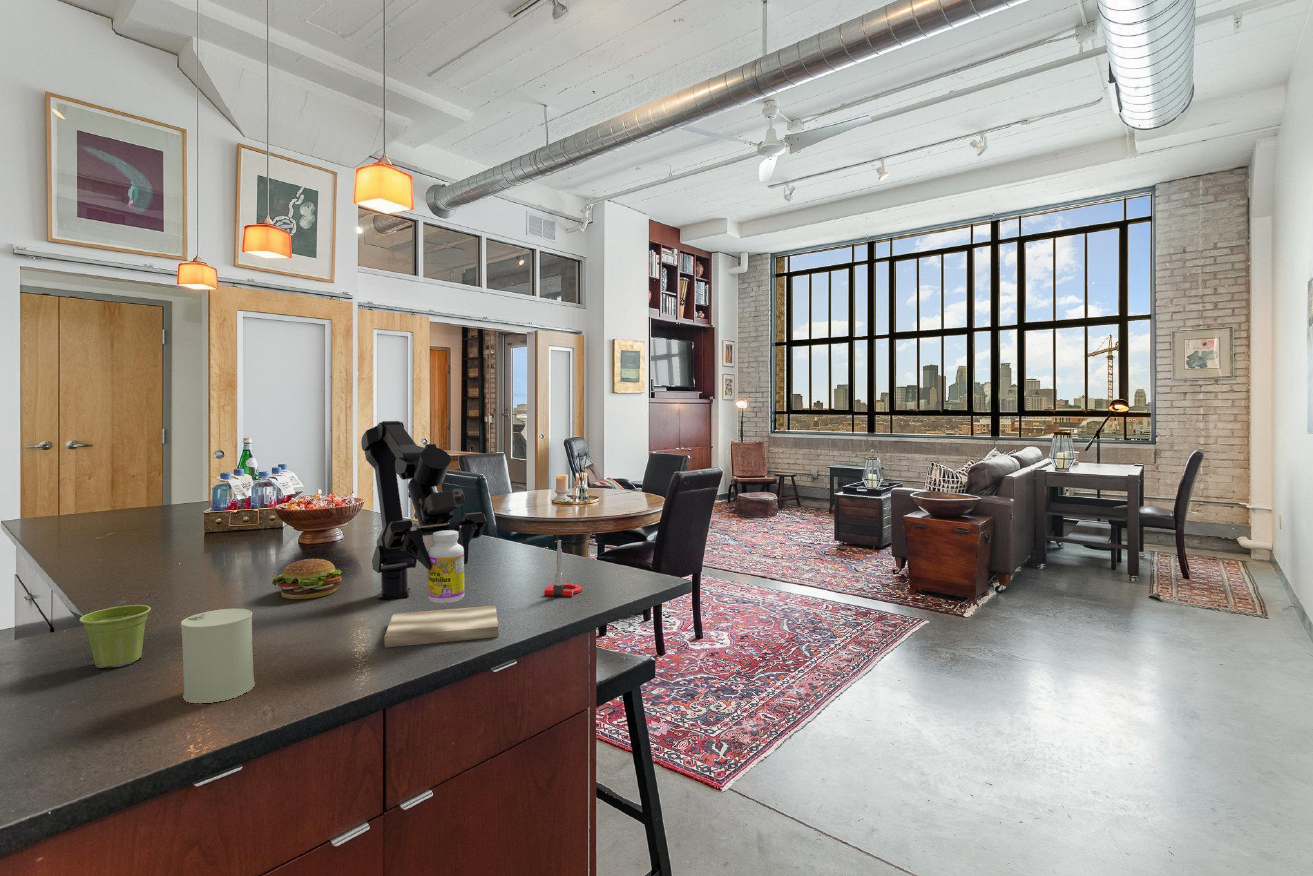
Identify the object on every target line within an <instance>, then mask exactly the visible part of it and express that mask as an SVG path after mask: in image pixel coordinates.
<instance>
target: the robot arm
mask: <svg viewBox="0 0 1313 876" xmlns="http://www.w3.org/2000/svg"><path fill="white" fill-rule="evenodd" d="M361 449H362V451H363V452H364V455H365V460H366V461H367V462H368V464H369V465H371V467H372V468H373V470H374V473H375V481H376V488H377V496H378V504H379V511H380V518H381V519H380V520H381V527H382V529H381V531H380V534H379V536H378V538H377V539H376V547H375V550H374V553H373V556H372V559H371V566H372V571H375V572H376V573H377V574H380V582H381V584H380V585H381V587H380V588H381V590H380V592H379V594H378V596H377V597H378V598H377V599H378V600H388V599H389V600H390V599H399V598H409V596H410V593H411V590H412V588H411V587H409V583H408V581H409V580H408V578H409V577H408V576H409V575H408V569H412V568H416V566H417V562H419V563H420V564H421V565H422V566H423V567H424V568H425V569H427V571H428V570H431V568H432V565H431V560H430V557H429V555H428V550H427V548H426V544H425V542H424V537H429V536H430V537H432V536H433V533H434V532H437V531H445V530H454V531H458V537H459V538H458V540H457V543H458V544H460V545H461V546H462V547H463V549H464V566H465V565H468V563H469V549H470V548H469V545H470V542H471V541H472V540H474V539H478V538H480V537H481V536H482V534H483V532H484V529H485V527H486V525H487V523H488V520H487V517H486V514H485V513H483V512H481V511H480V512H479V511H478V512H470V513H468V512H467V513H463V516H462V519H461V520H460V521H453V522H451V519H453V517H454V516H455V514H454V510H455V509H458V507H463V505H464V504H465V503H466V497H465V494H464V491H463V489H462V488H453V489H452V490H451V491H441V490H440V485H441V484H443V482H444V480H445V478H446V475H447V472H448V470H449V467H450V465H451V461H452V460H451V455H450V454H448V452H447V451H446V450H444V449H442V448H441V447H440V448H439V447H437V444H436V443H426V444H425V446H424V447H423V446H421V445H420V446H419V445H418V444H416V442H415V441H414V439H412V437H411V436H410V434H409V433H408V431H407V430H406V429H405V424H404V422H403V421H399V420H388V421H387V420H383V421H381V422H380V421H379V422H378V424H377V425H376V426H374V427H371V428H369V429H367V430H365V432H364V433H363V435H362V437H361ZM397 475H398V476H399V478H400V479H401V480H403V481H404V480H409V482H408V484H407V489H408V492H407V493H408V498H409V499H411V502H412V506H413V509H414V514H413V516H414V519H415V520H417V521H418V522H417V523H418V524H416V523H413V521H412V520H411V519H404V518H403V517H404V516H403V511H402V510H403V509H402V503H401V494H400V491H399V483H398V476H397Z"/></svg>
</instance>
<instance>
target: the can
mask: <svg viewBox="0 0 1313 876" xmlns="http://www.w3.org/2000/svg"><path fill="white" fill-rule="evenodd" d="M252 618H253V612H252V610H249V609H246V608H224V609H223V608H221V609H214V610H209V611H204V612H201V613H196V614H193V615H191V616H188V617H186V618H184V619H183V620H181V622H180V627H181V639H182V642H181V643H182V644H181V645H182V665H183V667H182V668H183V671H182V672H183V696H182V699H183V698H184V700H186V701H188V702H191V703H212V704H214V703H213V702H218V703H220V702H219V701H223V702H226V701H225V700H227V701H229V699H230V700H233V699H232V698H234V699H236V698H238V696H239V697H241V696H244V695H245V694H244V693H246V692H247V693H249V692H251V690H253V689H254V688H255V686H256V683H255V678H254V677H255V676H254V660H253V659H254V657H253V656H254V655H253V654H254V652H253V624H252V623H253V619H252ZM253 687H254V688H253ZM247 693H246V694H247ZM243 694H244V695H243ZM240 695H241V696H240ZM184 700H183V701H184Z"/></svg>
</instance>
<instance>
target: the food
mask: <svg viewBox="0 0 1313 876" xmlns="http://www.w3.org/2000/svg"><path fill="white" fill-rule="evenodd" d="M343 573H344V571H341V570H340V569H337V568H336V567H335V565H334V563H333V562H331V561H329V560H326V559H322V558H307V559H300V560H298V561H295V562H292V563H290V564H288V565H286V566H285V568H284V569H283V571H282V574H279V575H278V576H274V575H273V576H272V578H271V579H272V583H271V584H272V585H273V586H279V587H280V588H281V594H280V595H281V597H282V598H284V599H288V600H309V599H316V598H321V597H325V596H327V595H331V594H333V593H335V592H336V591H337V590H338V587H339V586H340V585H341V583H340V582H341V581H342V579H343V578H342V575H343Z"/></svg>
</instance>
